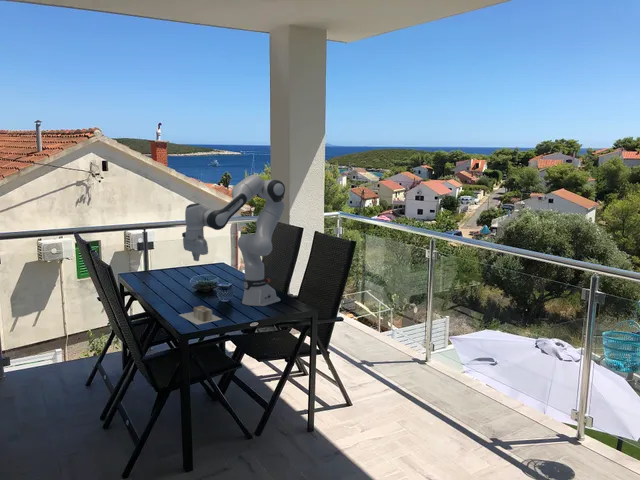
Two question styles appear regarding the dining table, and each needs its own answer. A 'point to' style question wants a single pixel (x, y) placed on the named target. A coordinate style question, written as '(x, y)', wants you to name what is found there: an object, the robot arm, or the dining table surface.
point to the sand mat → (191, 318)
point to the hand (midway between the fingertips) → (196, 260)
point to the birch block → (202, 313)
